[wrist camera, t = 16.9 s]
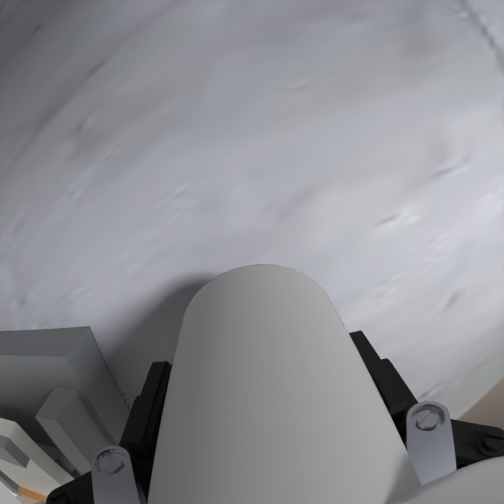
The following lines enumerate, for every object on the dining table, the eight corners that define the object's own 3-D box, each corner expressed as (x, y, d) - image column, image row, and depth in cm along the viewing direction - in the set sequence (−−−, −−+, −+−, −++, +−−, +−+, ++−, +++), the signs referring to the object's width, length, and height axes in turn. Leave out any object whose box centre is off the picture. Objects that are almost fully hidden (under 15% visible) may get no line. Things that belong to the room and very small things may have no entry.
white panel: (-51, 400, 10) (-62, 417, 8) (16, 422, 10) (3, 448, 8) (36, 486, 15) (31, 502, 13) (113, 507, 15) (109, 527, 13)
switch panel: (-54, 331, 14) (-88, 361, 9) (89, 326, 14) (42, 388, 9) (37, 468, 20) (21, 501, 14) (182, 491, 20) (177, 540, 14)
